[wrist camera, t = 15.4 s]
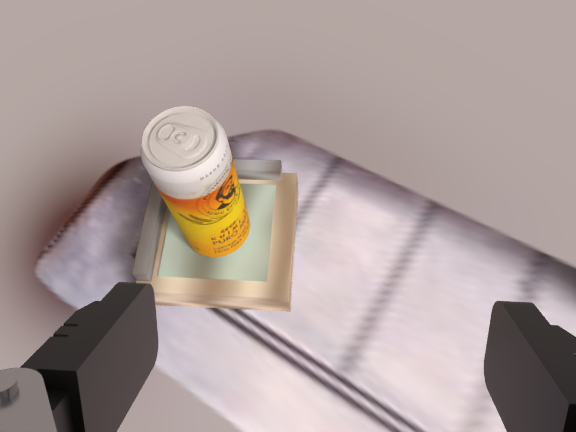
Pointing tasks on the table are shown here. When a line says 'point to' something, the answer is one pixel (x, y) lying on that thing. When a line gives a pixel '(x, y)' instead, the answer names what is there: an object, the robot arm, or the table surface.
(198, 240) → the beer can
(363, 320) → the table surface
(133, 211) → the table surface
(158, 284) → the square tray
